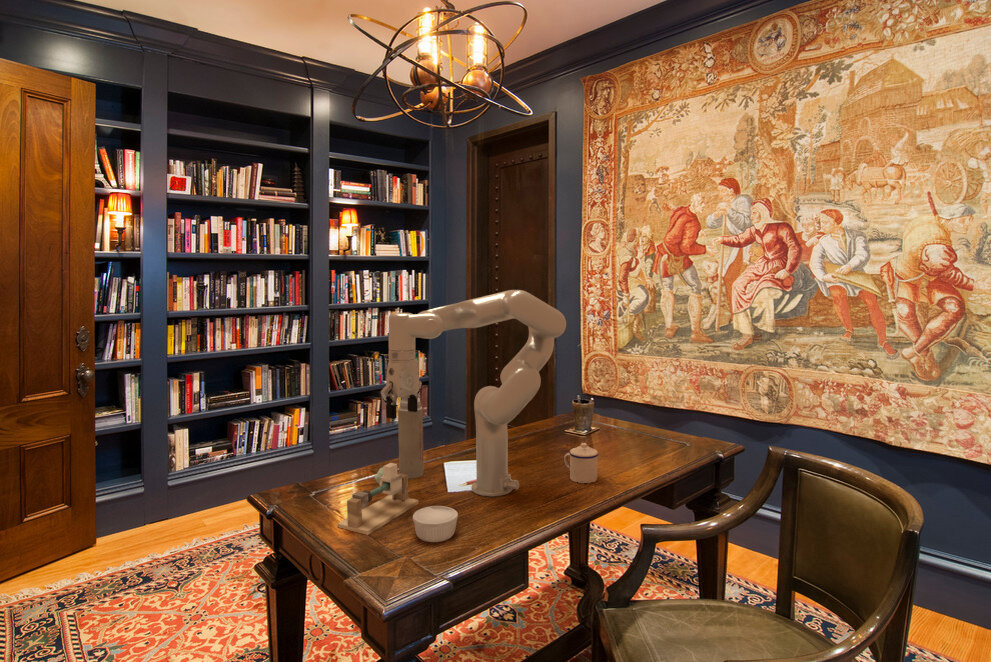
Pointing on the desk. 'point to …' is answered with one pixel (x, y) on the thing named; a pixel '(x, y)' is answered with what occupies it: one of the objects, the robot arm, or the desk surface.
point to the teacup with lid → (582, 464)
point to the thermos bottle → (410, 440)
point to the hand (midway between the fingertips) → (402, 414)
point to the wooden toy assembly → (376, 508)
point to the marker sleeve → (391, 479)
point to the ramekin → (435, 523)
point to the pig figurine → (379, 475)
